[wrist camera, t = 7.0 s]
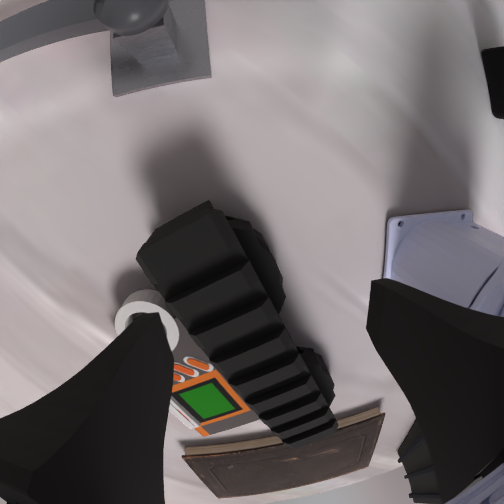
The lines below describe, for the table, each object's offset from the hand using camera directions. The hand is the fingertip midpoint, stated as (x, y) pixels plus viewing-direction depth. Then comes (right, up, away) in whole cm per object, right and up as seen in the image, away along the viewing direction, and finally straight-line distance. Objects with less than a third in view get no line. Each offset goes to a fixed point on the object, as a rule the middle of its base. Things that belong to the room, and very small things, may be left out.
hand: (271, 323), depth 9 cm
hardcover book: (+4, -24, +21) cm, 33 cm away
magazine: (+24, -27, +24) cm, 43 cm away
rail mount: (0, -4, +13) cm, 13 cm away
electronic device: (-6, -6, +13) cm, 16 cm away
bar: (-12, +13, -2) cm, 18 cm away
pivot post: (-6, +15, +4) cm, 17 cm away
